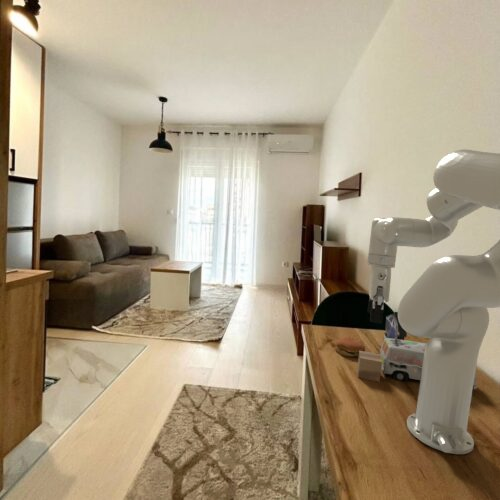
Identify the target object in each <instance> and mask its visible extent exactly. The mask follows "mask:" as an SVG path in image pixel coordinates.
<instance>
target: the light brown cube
mask: <svg viewBox="0 0 500 500" xmlns="http://www.w3.org/2000/svg"><path fill="white" fill-rule="evenodd" d="M364 351H365V350H364ZM364 351H359V356H358V357H357V367H356V369H357V378H360V379H365V380H369V381H375V382H379V383H380V382H381V381H380V380H381V375H382V374H381V373H382V368H381V367H382V360H381V356H380V353H376V352H375V353H374V352H370V351H365V352H364Z"/></svg>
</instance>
